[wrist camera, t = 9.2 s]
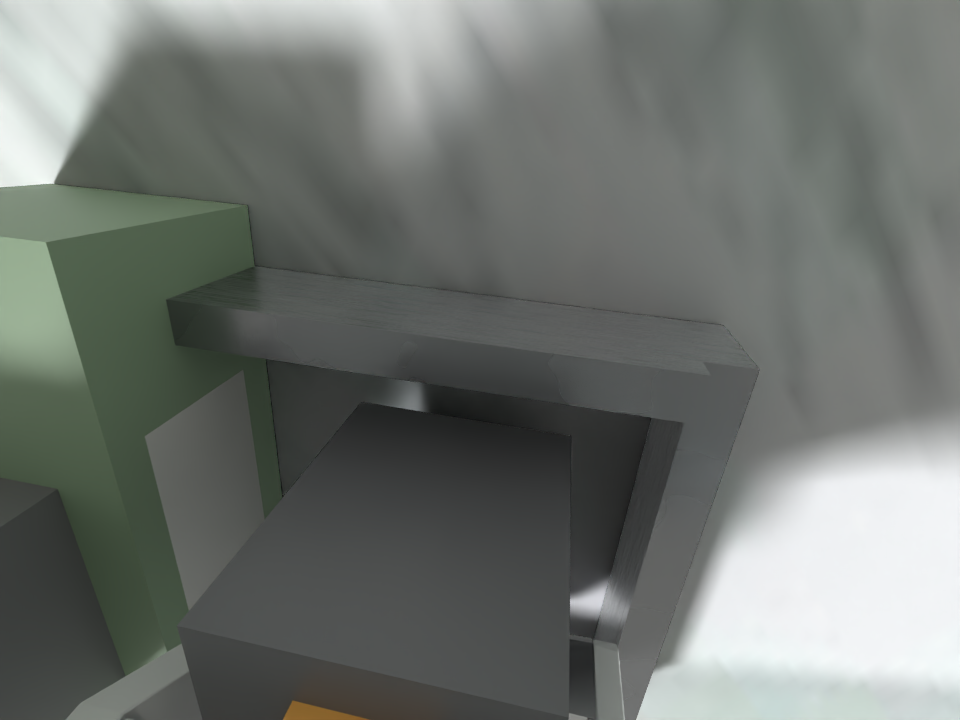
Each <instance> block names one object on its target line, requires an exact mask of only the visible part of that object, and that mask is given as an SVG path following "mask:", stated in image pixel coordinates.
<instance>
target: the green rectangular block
mask: <svg viewBox="0 0 960 720" xmlns="http://www.w3.org/2000/svg"><path fill="white" fill-rule="evenodd" d="M253 266H255V265H254V256H253V248H252V240H251V231H250V223H249V214H248V206H247V205H240V204H231V203H222V202H213V201H204V200H195V199H185V198H176V197H167V196H158V195H149V194H140V193H131V192H121V191H112V190H103V189H94V188H85V187H76V186H66V185H57V184H43V185H29V186H15V187H2V188H0V720H66V719H67V717H68V716H69V715H70V714H71V713H72V712H73V711H74V710H75V708H76V707H77V706H78V705H79V704H80V703H81V702H83V701H85V700H86V699H88V698H90V697H91V696H93V695H95V694H96V693H98V692H100V691H102V690H103V689H105V688H107V687H108V686H110V685H112V684H113V683H115V682H117V681H119V680H120V679H122V678H124V677H125V676H127V675H129V674H131V673H132V672H134V671H136V670H137V669H139V668H141V667H142V666H144V665H146V664H148V663H149V662H151V661H153V660H154V659H156V658H158V657H160V656H161V655H163V654H165V653H166V652H168V651H170V650H171V649H173V648H175V647H177V646H178V645H180V644H182V643H181V639H180V636H179V632H178V628H177V625H178V624H179V622H180V621H181V620H182V619H183V618H184V616H185V615H186V614H187V613H188V612H189V610H190V609H191V608H192V607H193V605H194V604H195V603H196V602H197V601H198V599H199V598H200V597H201V596H202V595H203V593H204V592H205V591H206V590H207V589H208V587H209V586H210V585H211V584H212V582H213V581H214V580H215V579H216V578H217V576H218V575H219V574H220V573H221V572H222V570H223V569H224V568H225V567H226V566H227V564H228V563H229V562H230V561H231V559H232V558H233V557H234V556H235V555H236V553H237V552H238V551H239V550H240V549H241V547H242V546H243V545H244V544H245V543H246V541H247V540H248V539H249V538H250V536H251V535H252V534H253V533H254V532H255V530H256V529H257V528H258V527H259V526H260V524H261V523H262V522H263V521H264V520H265V518H266V517H267V516H268V515H269V513H270V512H271V511H272V510H273V509H274V507H275V506H276V505H277V504H278V503H279V501H280V500H281V499H282V490H281V482H280V473H279V465H278V457H277V448H276V440H275V432H274V423H273V415H272V407H271V398H270V390H269V382H268V373H267V365H266V359H262V358H256V357H249V356H243V355H236V354H229V353H223V352H216V351H210V350H203V349H197V348H190V347H184V346H177V345H175V342H174V337H173V332H172V327H171V322H170V317H169V312H168V307H167V302H166V299H169V298H171V297H174V296H177V295H179V294H182V293H185V292H187V291H190V290H192V289H195V288H198V287H200V286H203V285H206V284H208V283H211V282H214V281H216V280H219V279H222V278H224V277H227V276H229V275H232V274H235V273H237V272H240V271H243V270H245V269H248V268H251V267H253Z"/></svg>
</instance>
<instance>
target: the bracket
mask: <svg viewBox="0 0 960 720" xmlns="http://www.w3.org/2000/svg"><path fill="white" fill-rule="evenodd" d="M166 302H167V307H168V312H169V317H170V322H171V327H172V332H173V337H174V342H175V345H177V346H184V347H190V348H197V349H203V350H210V351H216V352H223V353H229V354H236V355H243V356H249V357H256V358H262V359H269V360H275V361H282V362H288V363H295V364H302V365H308V366H315V367H321V368H328V369H334V370H341V371H347V372H354V373H361V374H367V375H374V376H380V377H387V378H393V379H400V380H406V381H413V382H420V383H426V384H433V385H439V386H446V387H452V388H459V389H466V390H472V391H479V392H485V393H492V394H498V395H505V396H511V397H518V398H525V399H531V400H538V401H544V402H551V403H557V404H564V405H570V406H577V407H584V408H590V409H597V410H603V411H610V412H616V413H623V414H629V415H636V416H643V417H649V418H651V422H650V426H649V430H648V434H647V438H646V441H645V445H644V449H643V453H642V457H641V460H640V464H639V468H638V472H637V476H636V479H635V483H634V487H633V491H632V495H631V499H630V502H629V506H628V510H627V514H626V518H625V521H624V525H623V529H622V533H621V537H620V540H619V544H618V548H617V552H616V556H615V560H614V563H613V567H612V571H611V575H610V579H609V582H608V586H607V590H606V594H605V598H604V602H603V605H602V609H601V613H600V617H599V621H598V624H597V628H596V632H595V636H594V640H599V641H604V642H609V643H614V644H616V645H617V648H618V651H619V661H620V672H621V683H622V694H623V705H624V715H625V720H636V718H637V715H638V712H639V709H640V707H641V704H642V701H643V698H644V695H645V693H646V690H647V687H648V684H649V681H650V678H651V676H652V673H653V670H654V667H655V664H656V661H657V659H658V656H659V653H660V650H661V647H662V644H663V642H664V639H665V636H666V633H667V630H668V628H669V625H670V622H671V619H672V616H673V613H674V611H675V608H676V605H677V602H678V599H679V596H680V594H681V591H682V588H683V585H684V582H685V580H686V577H687V574H688V571H689V568H690V565H691V563H692V560H693V557H694V554H695V551H696V548H697V546H698V543H699V540H700V537H701V534H702V532H703V529H704V526H705V523H706V520H707V517H708V515H709V512H710V509H711V506H712V503H713V500H714V498H715V495H716V492H717V489H718V486H719V483H720V481H721V478H722V475H723V472H724V469H725V467H726V464H727V461H728V458H729V455H730V452H731V450H732V447H733V444H734V441H735V438H736V435H737V433H738V430H739V427H740V424H741V421H742V419H743V416H744V413H745V410H746V407H747V404H748V402H749V399H750V396H751V393H752V390H753V387H754V385H755V382H756V379H757V376H758V373H759V370H760V369H759V368H758V367H757V365H756V364H755V363H754V362H753V361H752V359H751V358H750V357H749V356H748V355H747V353H746V352H745V351H744V350H743V348H742V347H741V346H740V345H739V344H738V342H737V341H736V340H735V339H734V338H733V336H732V335H731V334H730V333H729V332H728V330H727V329H726V328H725V327H724V326H723V325H718V324H710V323H702V322H694V321H686V320H678V319H670V318H662V317H654V316H646V315H639V314H631V313H623V312H615V311H607V310H599V309H591V308H583V307H575V306H567V305H559V304H552V303H544V302H536V301H528V300H520V299H512V298H504V297H496V296H488V295H480V294H472V293H464V292H457V291H449V290H441V289H433V288H425V287H417V286H409V285H401V284H393V283H385V282H377V281H370V280H362V279H354V278H346V277H338V276H330V275H322V274H314V273H306V272H298V271H290V270H283V269H275V268H267V267H259V266H253V267H251V268H248V269H245V270H243V271H240V272H237V273H235V274H232V275H229V276H227V277H224V278H222V279H219V280H216V281H214V282H211V283H208V284H206V285H203V286H200V287H198V288H195V289H192V290H190V291H187V292H185V293H182V294H179V295H177V296H174V297H171V298H169V299H166Z"/></svg>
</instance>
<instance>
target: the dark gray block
mask: <svg viewBox="0 0 960 720" xmlns="http://www.w3.org/2000/svg"><path fill="white" fill-rule="evenodd" d="M570 505H571V436H569V435H563V434H557V433H551V432H545V431H538V430H532V429H526V428H520V427H513V426H507V425H501V424H495V423H488V422H482V421H476V420H470V419H464V418H457V417H451V416H445V415H439V414H432V413H426V412H420V411H414V410H408V409H401V408H395V407H389V406H383V405H376V404H370V403H364V402H361V403H360V404H359V406H358V407H357V408H356V409H355V411H354V412H353V413H352V414H351V415H350V417H349V418H348V419H347V420H346V421H345V423H344V424H343V425H342V426H341V427H340V429H339V430H338V431H337V432H336V434H335V435H334V436H333V437H332V438H331V440H330V441H329V442H328V443H327V444H326V446H325V447H324V448H323V449H322V450H321V452H320V453H319V454H318V455H317V457H316V458H315V459H314V460H313V461H312V463H311V464H310V465H309V466H308V467H307V469H306V470H305V471H304V472H303V473H302V475H301V476H300V477H299V478H298V480H297V481H296V482H295V483H294V484H293V486H292V487H291V488H290V489H289V490H288V492H287V493H286V494H285V495H284V497H283V498H282V499H281V500H280V501H279V503H278V504H277V505H276V506H275V507H274V509H273V510H272V511H271V512H270V513H269V515H268V516H267V517H266V518H265V520H264V521H263V522H262V523H261V524H260V526H259V527H258V528H257V529H256V530H255V532H254V533H253V534H252V535H251V536H250V538H249V539H248V540H247V541H246V543H245V544H244V545H243V546H242V547H241V549H240V550H239V551H238V552H237V553H236V555H235V556H234V557H233V558H232V559H231V561H230V562H229V563H228V564H227V566H226V567H225V568H224V569H223V570H222V572H221V573H220V574H219V575H218V576H217V578H216V579H215V580H214V581H213V582H212V584H211V585H210V586H209V587H208V589H207V590H206V591H205V592H204V593H203V595H202V596H201V597H200V598H199V599H198V601H197V602H196V603H195V604H194V605H193V607H192V608H191V609H190V610H189V612H188V613H187V614H186V615H185V616H184V618H183V619H182V620H181V621H180V622H179V624H178V625H177V628H178V632H179V636H180V639H181V643H182V647H183V650H184V654H185V658H186V661H187V665H188V669H189V672H190V676H191V680H192V683H193V687H194V691H195V694H196V698H197V702H198V705H199V709H200V713H201V716H202V720H568V719H569V637H570Z"/></svg>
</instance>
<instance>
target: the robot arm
mask: <svg viewBox="0 0 960 720" xmlns="http://www.w3.org/2000/svg"><path fill="white" fill-rule="evenodd" d="M66 720H202V716H201V713H200V709H199V705H198V702H197V698H196V694H195V691H194V687H193V683H192V680H191V676H190V672H189V669H188V665H187V661H186V658H185V654H184V650H183V647H182V644H180V645H178V646H177V647H175V648H173V649H171V650H170V651H168V652H166V653H165V654H163V655H161V656H160V657H158V658H156V659H154V660H153V661H151V662H149V663H148V664H146V665H144V666H142V667H141V668H139V669H137V670H136V671H134V672H132V673H131V674H129V675H127V676H125V677H124V678H122V679H120V680H119V681H117V682H115V683H113V684H112V685H110V686H108V687H107V688H105V689H103V690H102V691H100V692H98V693H96V694H95V695H93V696H91V697H90V698H88V699H86V700H85V701H83V702H81V703H80V704H79V705H78V706H77V707H76V708H75V710H74V711H73V712H72V713H71V714H70V715H69V716H68V717H67V719H66ZM568 720H625V715H624V705H623V694H622V683H621V672H620V661H619V651H618V648H617V645H616V644H614V643H609V642H604V641H599V640H594V639H591V638H588V637H583V636H578V635H573V634H570V637H569V719H568Z"/></svg>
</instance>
